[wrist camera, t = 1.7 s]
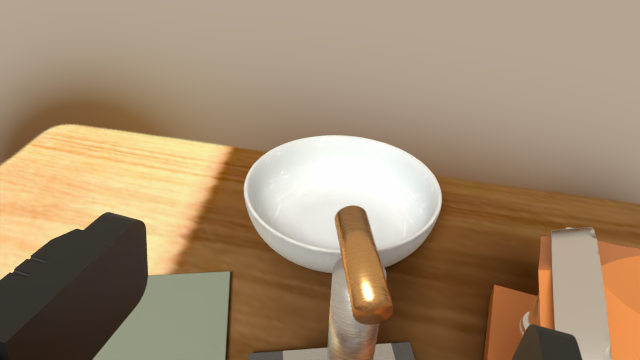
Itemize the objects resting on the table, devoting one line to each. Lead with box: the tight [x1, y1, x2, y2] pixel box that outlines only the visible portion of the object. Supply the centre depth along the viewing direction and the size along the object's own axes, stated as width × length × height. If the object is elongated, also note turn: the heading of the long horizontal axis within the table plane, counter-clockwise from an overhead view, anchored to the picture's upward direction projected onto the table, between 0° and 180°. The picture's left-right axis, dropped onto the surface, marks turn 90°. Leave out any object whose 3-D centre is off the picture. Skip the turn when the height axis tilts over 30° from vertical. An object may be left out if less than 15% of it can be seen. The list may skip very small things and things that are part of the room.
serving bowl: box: [244, 135, 442, 273], centre depth 55 cm, size 21×21×7 cm
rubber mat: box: [93, 271, 230, 360], centre depth 43 cm, size 16×16×1 cm
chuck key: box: [327, 205, 394, 360], centre depth 32 cm, size 7×4×18 cm, turn 6°
